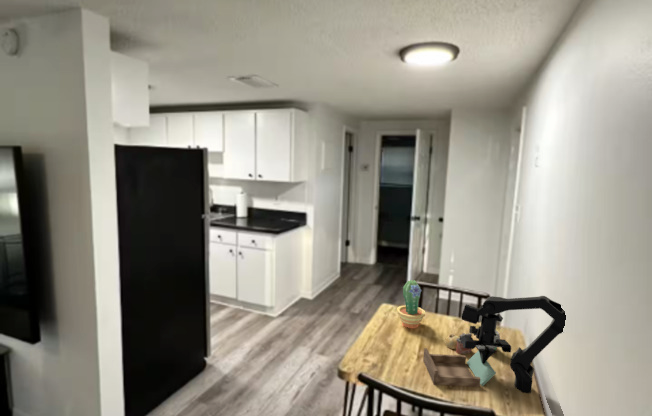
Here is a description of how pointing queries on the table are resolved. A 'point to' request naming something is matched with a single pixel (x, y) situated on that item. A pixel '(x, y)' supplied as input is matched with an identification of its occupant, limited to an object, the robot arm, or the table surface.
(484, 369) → the tailgate
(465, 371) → the truck bed
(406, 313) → the potted cactus
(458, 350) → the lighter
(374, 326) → the table surface
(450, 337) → the onion
